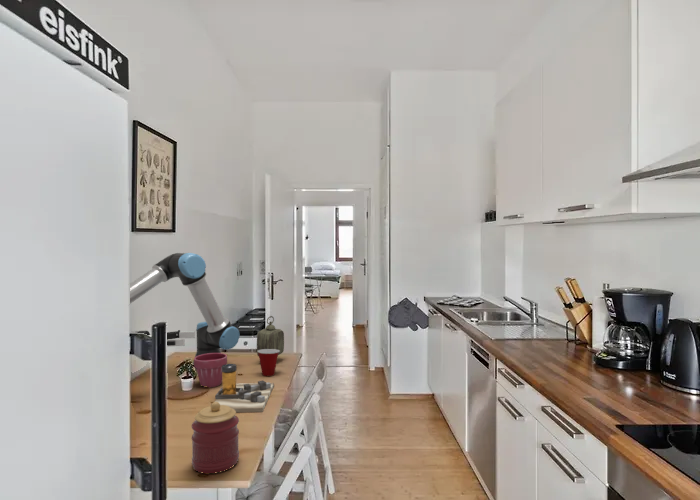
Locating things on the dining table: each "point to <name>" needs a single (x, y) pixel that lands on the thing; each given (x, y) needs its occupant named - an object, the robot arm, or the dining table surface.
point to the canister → (215, 439)
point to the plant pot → (210, 368)
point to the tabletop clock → (270, 338)
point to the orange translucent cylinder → (229, 379)
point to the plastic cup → (268, 361)
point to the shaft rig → (247, 397)
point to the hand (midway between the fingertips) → (189, 338)
